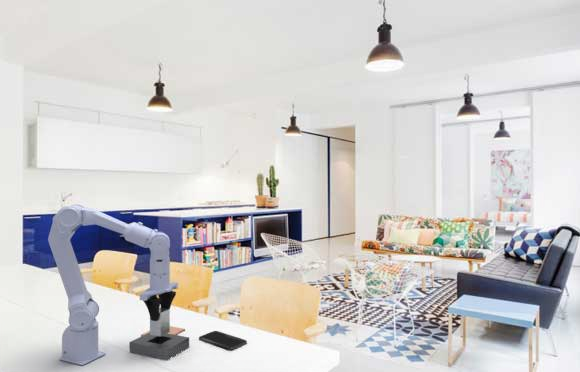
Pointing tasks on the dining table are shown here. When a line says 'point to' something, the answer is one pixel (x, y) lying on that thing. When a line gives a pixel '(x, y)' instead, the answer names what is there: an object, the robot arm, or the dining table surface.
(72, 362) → the robot arm
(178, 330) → the mat
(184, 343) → the socket plate
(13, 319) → the dining table surface
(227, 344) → the phone
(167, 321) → the steel peg
